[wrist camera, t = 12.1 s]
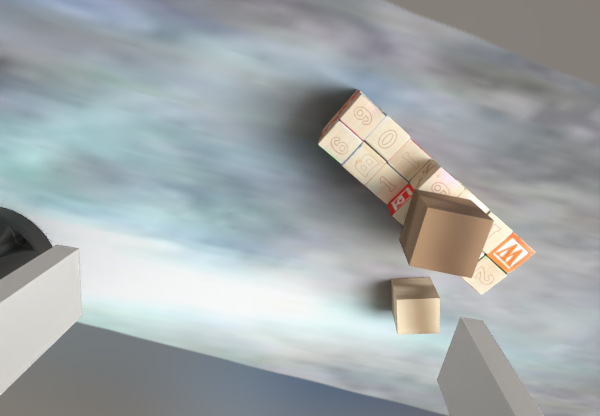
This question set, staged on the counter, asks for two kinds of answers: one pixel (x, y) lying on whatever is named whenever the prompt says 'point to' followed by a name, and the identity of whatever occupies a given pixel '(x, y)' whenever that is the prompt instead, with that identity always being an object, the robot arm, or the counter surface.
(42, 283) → the robot arm
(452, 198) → the walnut cube
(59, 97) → the counter surface
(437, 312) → the maple cube
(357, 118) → the stack of blocks
